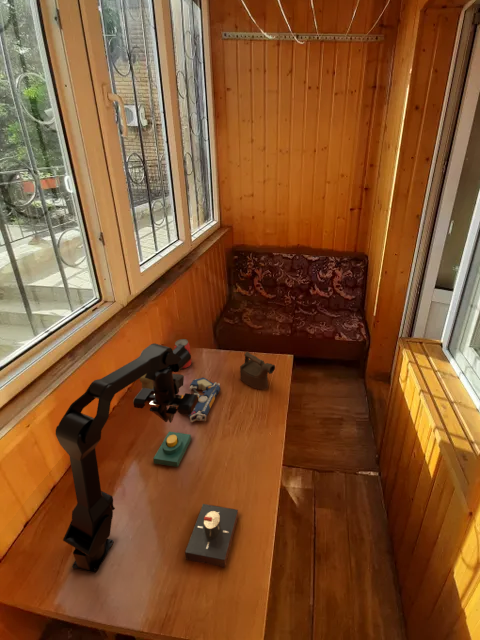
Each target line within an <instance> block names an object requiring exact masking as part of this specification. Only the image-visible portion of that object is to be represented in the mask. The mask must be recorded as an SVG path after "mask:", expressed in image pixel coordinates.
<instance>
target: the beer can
mask: <svg viewBox="0 0 480 640" xmlns="http://www.w3.org/2000/svg"><path fill="white" fill-rule="evenodd" d="M179 344H181V345H184V346H185V348H186V349H187V350H188V351H189V353H190V354H191V353H192V352H191V346H190V342H189V340H188V339H186V338H180V339H178V340H176V341H175V342H174V349H175V348H176V347H177V346H178V345H179ZM174 349H173V350H174ZM191 355H192V354H191ZM191 364H192V358H191V359H190V361H189V362H188V363H187V364H186V365H185V366H184V367H183V368H182V369H186V368H188V367H190V366H191Z"/></svg>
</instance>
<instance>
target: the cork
mask: <svg viewBox="0 0 480 640" xmlns="http://www.w3.org/2000/svg"><path fill="white" fill-rule="evenodd" d="M145 376H146V374H145V375H144V376H142V377H141V378H139V381H140V383H141V389H142V388H149V389H153V382H152V380H150V379H147V378H145ZM153 395H154V394H153Z"/></svg>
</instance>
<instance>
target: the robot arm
mask: <svg viewBox="0 0 480 640" xmlns="http://www.w3.org/2000/svg"><path fill="white" fill-rule="evenodd" d="M174 348H175V347H174ZM190 353H191V352H190ZM190 353H189V351H188V350H187V349H186V348H185V346H184V345H181V344H179V345H178V346H177V347H176V348H175V349H173V348H171V347H169V346H167V345H162V344H159V343H156V342H155V343H151V344H150V345H148V346H147V347H145V348H144V349H142V351H141V353H140V354H139V356H138V357H136V358H135V359H133V360H131V361H129V362H128V363H127V364H124V365H123V366H121V367H118V369H115V370H114V371H112V372H110V373H108V374H106V375H105V376H103V377H102V378H98V379H97V378H96V379H94V380H93V381H92V382H91V383H90V384H89V385H88V387H87V389H86V390H85V392H84V393H83V394H82V395H81V396H79V397H78V398H77V399H76V400H74V401H73V402H72V403H71V404H69V405H70V406H69V407H68V409H67V410H66V411H65V414H64V415H63V416H62V418H61V419H60V421H59V423H58V425H57V426H56V428H55V437H56V439H57V441H58V443H59V445H60V446H61V448H62V449H63V450H64V451H65V452H66V454H67V455H68V457H69V463H70V468H71V474H72V480H73V485H74V492H75V498H76V505H75V506H74V508H73V509H72V511H71V520H70V523H69V525H68V527H67V530H66V533H65V534H64V537H63V539H62V541H63V542H64V543H67V544H68V545H69V546H71V547H73V548H74V550H73V551H72V554H73V555H72V556H73V557H74V562H73V563H72V566H71V567H72V569H73V570H77V571H81V572H86V573H91V574H96V573H98V571H99V570H100V568H101V566H102V565H103V563H104V561H105V559H106V557H107V555H108V553H109V552H110V550H111V548H112V546H113V544H114V539H111V538H109V537H111V530H112V522H113V516H114V510H115V509H116V507H115V506H114V497H113V495H111V494H109V493H107V492H104V491H102V486H101V480H100V479H101V478H100V473H99V465H98V457H97V451H96V447H97V446H98V444H99V443H100V441H101V439H102V431H103V428H104V427H105V425H106V423H107V421H108V420H109V417H110V411H111V402H112V400H113V399H114V398H115V395H116V394H118V393H119V392H121V391H122V390H124V389H126V388H127V387H128V386H130V385H131V384H133V383H135V382H136V381H138V380H140V378H141V377H142V376H144V375H145V374H146V376H145V378H147V379H150V380H152V382H153V389H149V388H142V387H141V389H140V391H139V392H138V393H137V394H136V395H135V397H134V398H133V400H132V404H133V408H134V409H144V408H145V407H146V402H149V406H150V407H149V409H148V410H149V411H150V412H152V413H153V414H155V415H156V416H158V417H159V418H160V419H161V420H162V421H163V422H165V423H167V422H168V423H170V424H171V423H172V422H173V420H174V417H175V415H176V414H177V412H178V413H179V414H180V415H185V416H188V415H190V414H192V412H193V410H194V408H195V406H196V404H197V402H198V396H197V395H196V394H194V393H186V392H185V393H184V394H179V392H180V388H181V387H184V380H185V376H184V374H178V372H180V371H181V370H182V369H184V368H183V367H184V366H185V365H186V364H187V363H188V362H189V361H190V359H191V360H192V354H190ZM153 394H154V395H153ZM182 395H184V396H183V398H181V397H182ZM96 399H97V400H98V401H97V409H96V414H95V416H94V417H92V416H90V415H87V414H85V413H83V410H84V409H85V408H86V407H87V406H89V404H91V403H93V402H94V401H95V400H96Z"/></svg>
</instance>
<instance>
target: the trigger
mask: <svg viewBox="0 0 480 640" xmlns="http://www.w3.org/2000/svg"><path fill="white" fill-rule="evenodd" d="M176 444H177V436H176V435H170V436H169V437H168V438H167V446H168V447H174V446H175V445H176Z"/></svg>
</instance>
